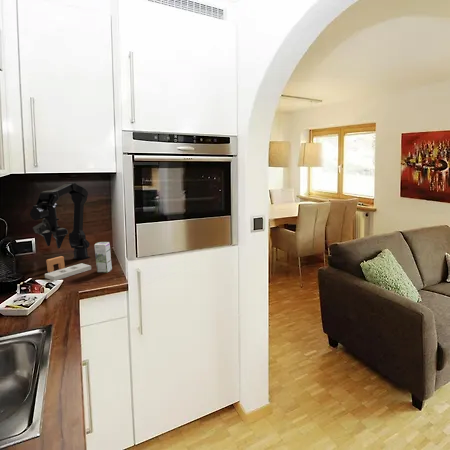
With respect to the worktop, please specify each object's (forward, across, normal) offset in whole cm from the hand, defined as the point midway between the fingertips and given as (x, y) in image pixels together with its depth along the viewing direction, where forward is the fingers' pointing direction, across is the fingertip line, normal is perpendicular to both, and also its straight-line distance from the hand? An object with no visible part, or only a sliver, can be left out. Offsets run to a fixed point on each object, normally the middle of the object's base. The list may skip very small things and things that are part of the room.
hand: (53, 247), depth 187 cm
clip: (+12, 0, 0) cm, 12 cm away
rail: (+12, +11, 0) cm, 16 cm away
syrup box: (+12, +23, +12) cm, 29 cm away
